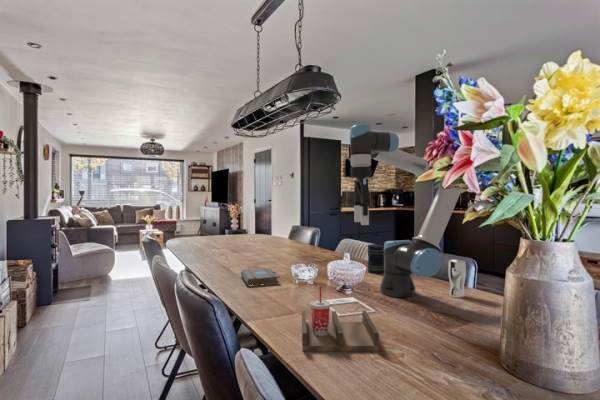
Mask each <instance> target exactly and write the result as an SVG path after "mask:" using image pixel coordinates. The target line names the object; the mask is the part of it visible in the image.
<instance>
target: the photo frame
mask: <svg viewBox="0 0 600 400" xmlns="http://www.w3.org/2000/svg"><path fill="white" fill-rule="evenodd" d="M324 300H325V299H324ZM325 301H329V302H330V308H329V311H331V312H332V311H336V310H335V309H334V308H332V307H331V306H336V305H345V304H355V303H358V304H360V305H361V306H363V307H365V308H366V309H368V310H367V311H366V310H365V311H366V312H367V314H373V313H376V310H375V309H373V308H372V307H370V306H368V305H367V304H366V303H363V302H362V301H360V300H358V299H356V297H353V296H351V297H342V298H341V297H340V298H333V299H326V300H325ZM336 313H337V316H338V318H342V317H348V316H356V315H362V311H359V312H349V313H343V314H342V313H341V314H340V313H339V312H337V311H336Z"/></svg>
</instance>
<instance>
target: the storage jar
mask: <svg viewBox="0 0 600 400" xmlns="http://www.w3.org/2000/svg"><path fill="white" fill-rule="evenodd" d="M367 257H368V258H367V259H368V260H367V273H369V274H372V273H373V275H384V274H383V273H384V244H378V243H377V244H376V243H375V244H374V243H373V244H372V243H371V244H368V245H367Z"/></svg>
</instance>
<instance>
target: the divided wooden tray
mask: <svg viewBox="0 0 600 400" xmlns="http://www.w3.org/2000/svg"><path fill="white" fill-rule="evenodd" d="M336 312H337V310H335V311H331V321H329V325H328V334H327V335H325V336H317V335H314V334H313V326H312V321H307V312H306V311H305V310H302V311H301V338H302V339H301V340H302V341H301V343H302V348H301V350H302V352H380V351H379V350H380V348H379V347H380V345H379V342H380V337H379V335H380V334H379V331H378V329H377V327H376V326H375V324H374V322H373V321H372V319H371V317H370V315H369V313H367V312H366V310H362V311H361V312H362V314H361V315H362V317H361V319H362V320H361V321H340V319H339V316H338V315H337V313H336Z"/></svg>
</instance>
